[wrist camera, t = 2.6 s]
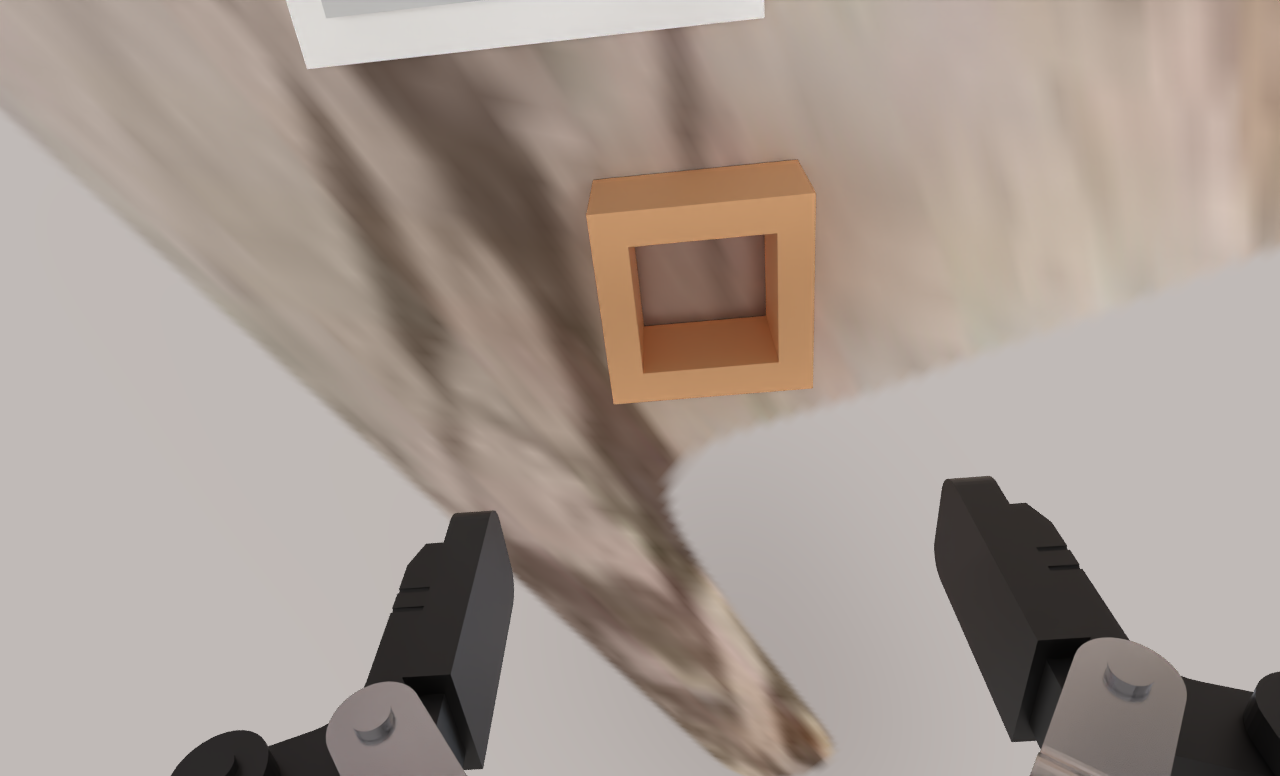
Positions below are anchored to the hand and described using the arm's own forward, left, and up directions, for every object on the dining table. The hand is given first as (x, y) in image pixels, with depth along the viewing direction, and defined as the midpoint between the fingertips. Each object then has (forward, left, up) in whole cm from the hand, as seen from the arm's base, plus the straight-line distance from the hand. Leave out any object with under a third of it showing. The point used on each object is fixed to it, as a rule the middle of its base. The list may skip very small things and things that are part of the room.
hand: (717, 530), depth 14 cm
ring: (0, 0, -12) cm, 12 cm away
